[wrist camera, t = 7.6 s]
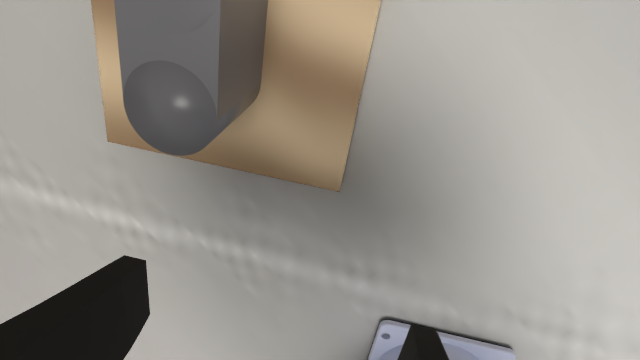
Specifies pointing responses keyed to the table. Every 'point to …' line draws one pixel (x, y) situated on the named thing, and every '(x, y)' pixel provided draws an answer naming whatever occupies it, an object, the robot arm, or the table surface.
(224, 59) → the usb plug
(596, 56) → the table surface
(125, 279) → the robot arm
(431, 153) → the table surface
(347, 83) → the cork coaster
